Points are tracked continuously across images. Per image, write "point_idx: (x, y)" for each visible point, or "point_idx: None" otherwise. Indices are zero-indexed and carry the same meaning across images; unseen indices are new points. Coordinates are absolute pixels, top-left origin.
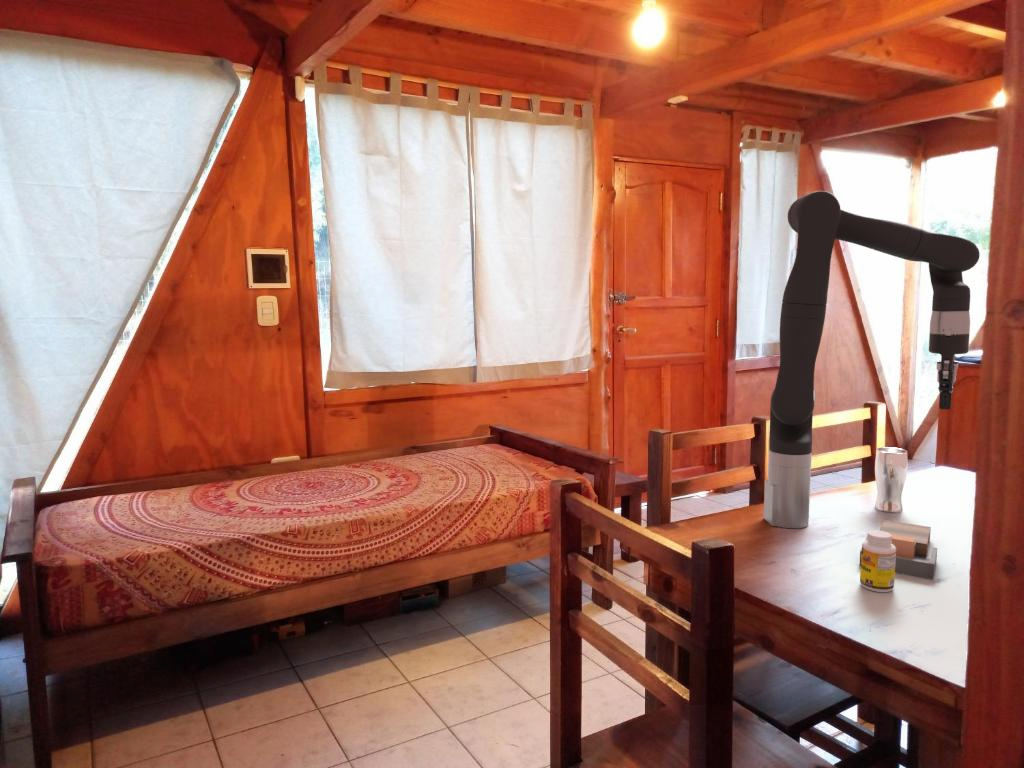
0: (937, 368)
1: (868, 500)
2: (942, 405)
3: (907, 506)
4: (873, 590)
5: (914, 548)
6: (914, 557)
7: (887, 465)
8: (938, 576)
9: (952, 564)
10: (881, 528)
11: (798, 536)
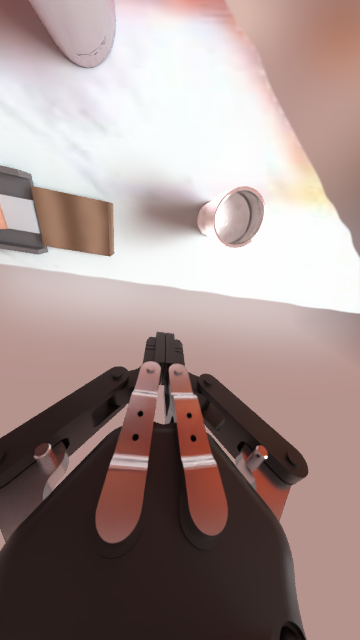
0: (110, 470)
1: None
2: (147, 341)
3: None
4: None
5: (3, 228)
6: None
7: (209, 210)
8: None
9: (53, 265)
10: (68, 195)
11: (13, 41)
